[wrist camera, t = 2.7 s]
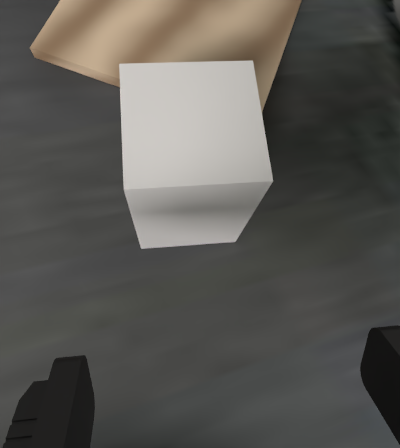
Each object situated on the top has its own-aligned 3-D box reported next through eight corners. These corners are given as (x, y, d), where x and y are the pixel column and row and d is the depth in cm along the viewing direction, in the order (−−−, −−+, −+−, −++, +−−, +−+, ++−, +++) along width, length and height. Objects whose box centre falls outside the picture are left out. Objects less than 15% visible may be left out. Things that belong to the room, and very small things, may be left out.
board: (34, 57, 29) (30, 47, 28) (126, -89, 35) (124, -101, 34) (253, 134, 29) (256, 127, 28) (310, -27, 34) (314, -38, 33)
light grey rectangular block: (141, 248, 25) (123, 189, 16) (136, 162, 27) (119, 63, 18) (235, 241, 26) (273, 181, 16) (224, 158, 28) (252, 60, 18)
